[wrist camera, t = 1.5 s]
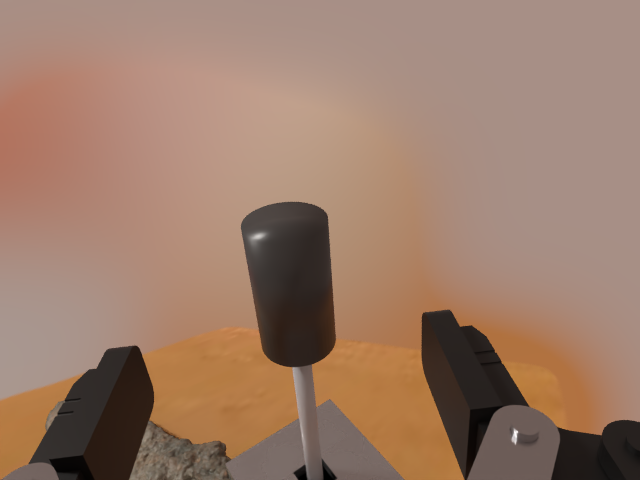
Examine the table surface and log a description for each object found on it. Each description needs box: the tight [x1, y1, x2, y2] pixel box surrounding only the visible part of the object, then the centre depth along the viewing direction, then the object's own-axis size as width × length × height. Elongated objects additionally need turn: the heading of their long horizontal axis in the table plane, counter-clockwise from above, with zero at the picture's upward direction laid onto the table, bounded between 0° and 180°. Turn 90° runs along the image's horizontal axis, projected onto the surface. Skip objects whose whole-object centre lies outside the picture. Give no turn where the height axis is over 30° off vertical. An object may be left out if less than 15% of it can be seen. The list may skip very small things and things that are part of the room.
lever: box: [241, 202, 336, 480], centre depth 30 cm, size 4×4×26 cm
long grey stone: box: [45, 400, 231, 480], centre depth 52 cm, size 35×5×10 cm
